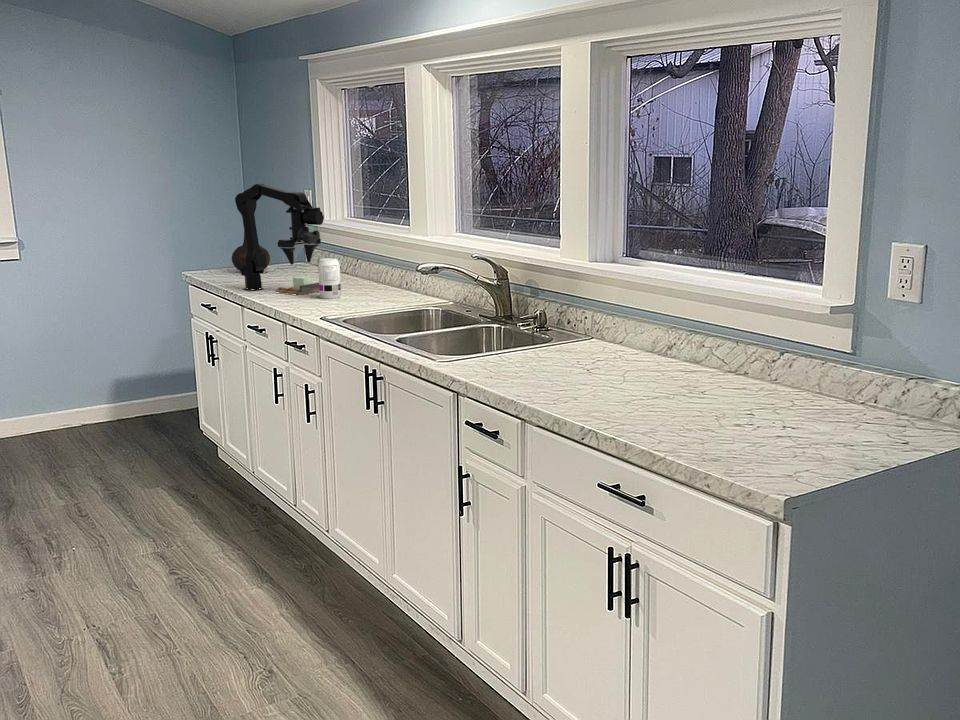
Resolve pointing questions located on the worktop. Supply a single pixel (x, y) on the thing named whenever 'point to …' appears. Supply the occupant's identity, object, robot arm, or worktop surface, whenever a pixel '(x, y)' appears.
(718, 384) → the worktop surface
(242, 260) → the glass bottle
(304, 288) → the channel board
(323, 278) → the supplement can
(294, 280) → the block
